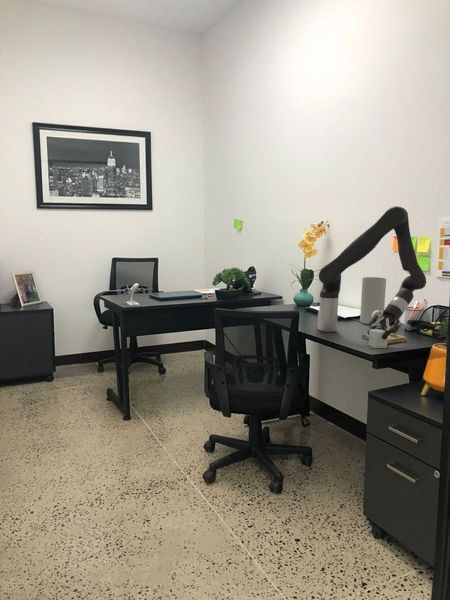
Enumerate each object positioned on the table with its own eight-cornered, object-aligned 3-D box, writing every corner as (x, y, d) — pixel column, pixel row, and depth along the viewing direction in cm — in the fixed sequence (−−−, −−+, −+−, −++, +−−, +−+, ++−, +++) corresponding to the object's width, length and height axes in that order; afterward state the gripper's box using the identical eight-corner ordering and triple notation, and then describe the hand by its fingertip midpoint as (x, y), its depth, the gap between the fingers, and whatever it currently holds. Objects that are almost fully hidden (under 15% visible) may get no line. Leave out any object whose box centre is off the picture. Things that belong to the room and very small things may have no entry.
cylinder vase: (358, 323, 265) (361, 278, 261) (361, 320, 276) (364, 276, 273) (382, 326, 260) (385, 280, 257) (384, 321, 272) (387, 277, 268)
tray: (362, 338, 231) (362, 334, 230) (382, 335, 238) (382, 331, 237) (385, 344, 219) (385, 340, 218) (405, 341, 226) (406, 337, 225)
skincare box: (380, 344, 218) (381, 328, 217) (387, 348, 212) (388, 331, 211) (368, 345, 217) (369, 329, 216) (374, 348, 211) (375, 331, 210)
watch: (387, 332, 244) (389, 311, 242) (373, 333, 242) (374, 311, 240) (381, 330, 249) (382, 309, 248) (367, 330, 247) (368, 309, 246)
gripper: (379, 301, 222) (360, 328, 218) (405, 306, 210) (384, 334, 206) (386, 311, 225) (367, 338, 221) (412, 317, 213) (392, 345, 209)
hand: (375, 336), depth 213 cm, fingers closed on skincare box, 7 cm apart
